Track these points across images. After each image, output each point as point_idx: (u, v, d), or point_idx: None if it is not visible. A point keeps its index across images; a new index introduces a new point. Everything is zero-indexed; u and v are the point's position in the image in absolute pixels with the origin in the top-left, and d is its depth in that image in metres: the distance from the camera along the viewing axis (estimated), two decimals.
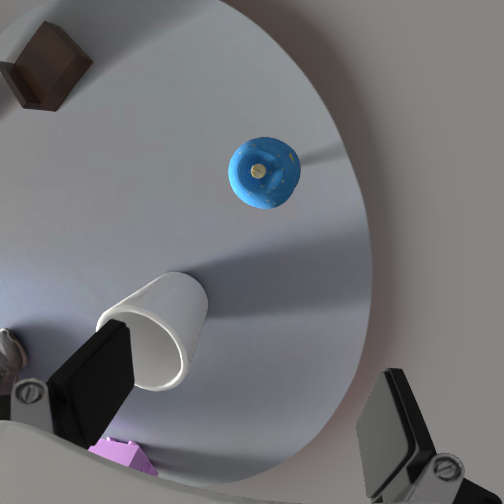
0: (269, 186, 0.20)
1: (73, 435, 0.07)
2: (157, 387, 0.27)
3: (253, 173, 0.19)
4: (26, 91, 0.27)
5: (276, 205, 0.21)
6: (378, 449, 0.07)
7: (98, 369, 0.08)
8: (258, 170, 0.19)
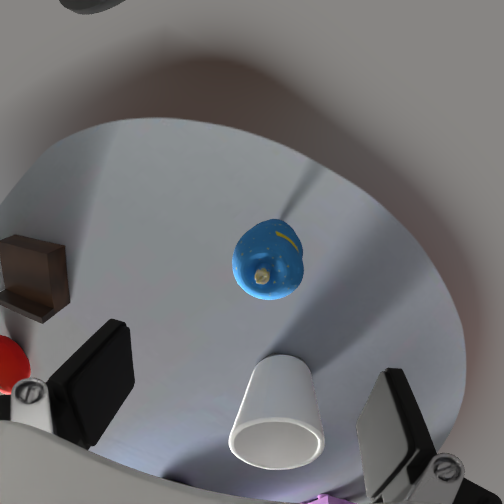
0: (280, 277, 0.20)
1: (74, 435, 0.07)
2: (309, 460, 0.26)
3: (259, 282, 0.19)
4: (34, 307, 0.34)
5: (298, 284, 0.21)
6: (378, 449, 0.07)
7: (98, 369, 0.08)
8: (261, 276, 0.19)
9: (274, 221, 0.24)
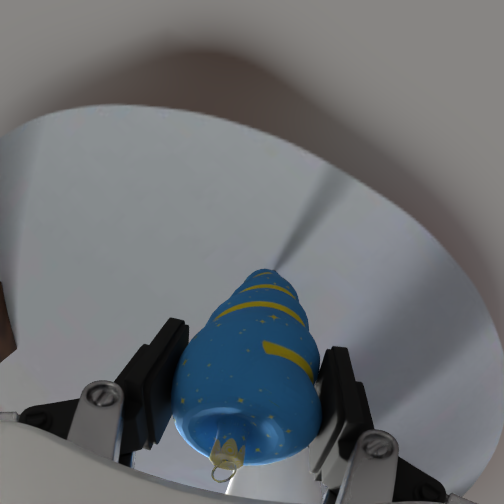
0: (271, 446, 0.08)
1: (143, 435, 0.07)
2: None
3: (221, 466, 0.07)
4: None
5: None
6: None
7: (167, 367, 0.09)
8: (225, 460, 0.07)
9: (263, 295, 0.12)
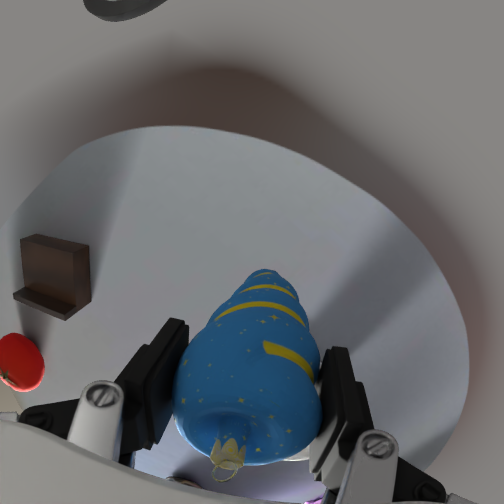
0: (271, 446, 0.08)
1: (143, 435, 0.07)
2: None
3: (222, 466, 0.07)
4: (55, 304, 0.37)
5: None
6: None
7: (167, 367, 0.09)
8: (225, 460, 0.07)
9: (264, 295, 0.12)
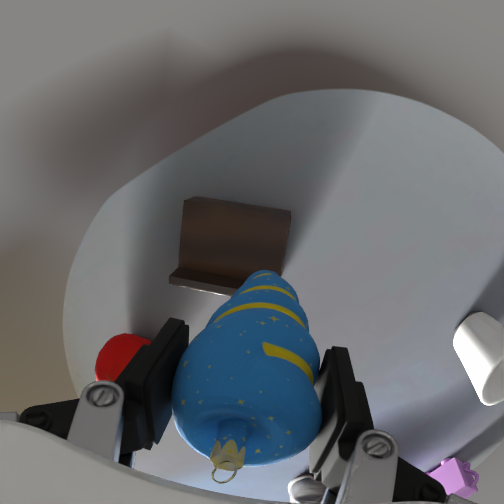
0: (271, 447, 0.08)
1: (143, 434, 0.07)
2: None
3: (222, 467, 0.07)
4: None
5: None
6: None
7: (167, 367, 0.09)
8: (225, 461, 0.07)
9: (263, 296, 0.12)
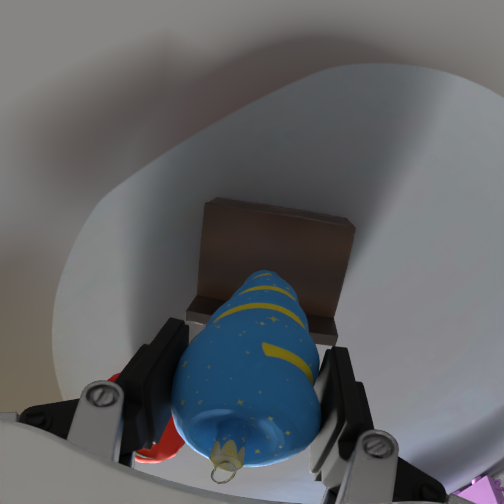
0: (271, 447, 0.08)
1: (143, 435, 0.07)
2: None
3: (221, 468, 0.07)
4: None
5: (308, 444, 0.08)
6: None
7: (167, 367, 0.09)
8: (225, 462, 0.07)
9: (263, 296, 0.12)
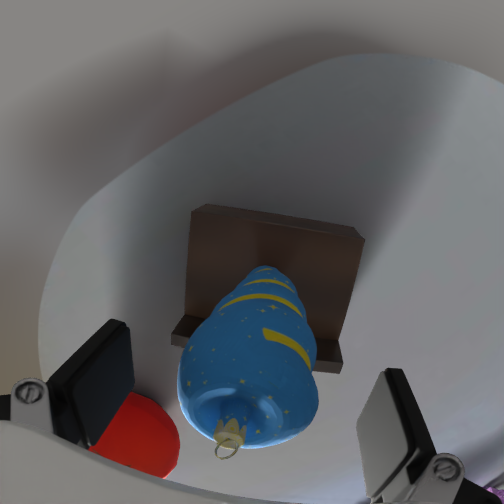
0: (271, 427, 0.09)
1: (73, 435, 0.07)
2: None
3: (224, 445, 0.08)
4: None
5: None
6: (378, 449, 0.07)
7: (98, 369, 0.08)
8: (227, 439, 0.08)
9: (264, 288, 0.13)
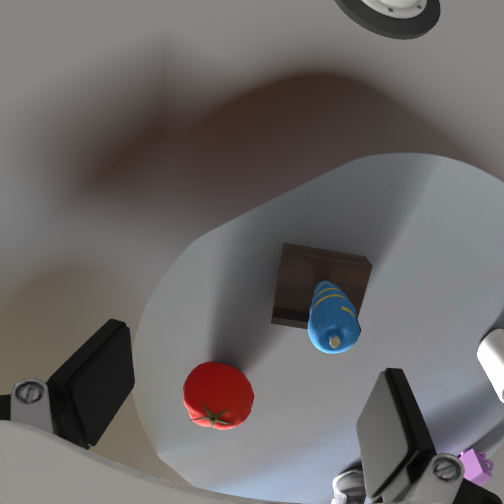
0: (345, 340, 0.27)
1: (73, 435, 0.07)
2: None
3: (333, 345, 0.26)
4: None
5: (355, 342, 0.28)
6: (378, 449, 0.07)
7: (98, 369, 0.08)
8: (335, 342, 0.26)
9: (334, 292, 0.31)
